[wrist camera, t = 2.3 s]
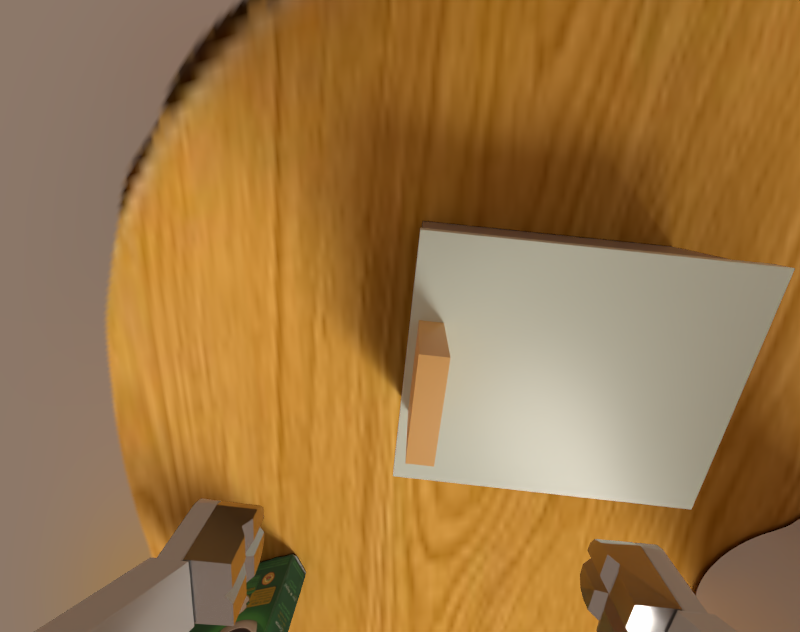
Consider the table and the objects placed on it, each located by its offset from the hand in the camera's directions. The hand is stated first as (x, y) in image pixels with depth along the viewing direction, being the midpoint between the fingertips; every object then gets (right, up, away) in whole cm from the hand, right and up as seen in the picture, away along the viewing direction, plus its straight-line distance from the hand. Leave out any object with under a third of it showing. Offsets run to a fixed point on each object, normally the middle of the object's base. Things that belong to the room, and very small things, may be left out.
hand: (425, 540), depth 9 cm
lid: (+8, +3, +10) cm, 13 cm away
